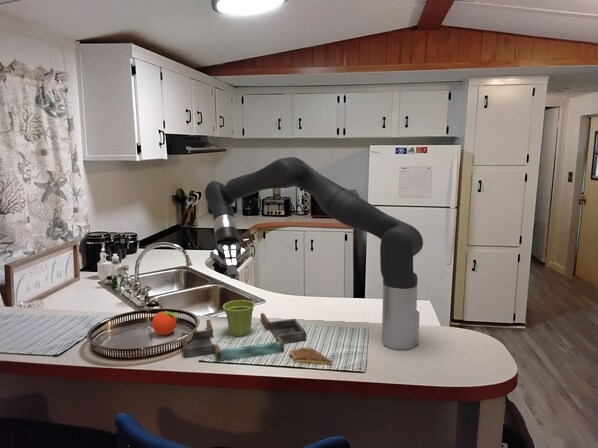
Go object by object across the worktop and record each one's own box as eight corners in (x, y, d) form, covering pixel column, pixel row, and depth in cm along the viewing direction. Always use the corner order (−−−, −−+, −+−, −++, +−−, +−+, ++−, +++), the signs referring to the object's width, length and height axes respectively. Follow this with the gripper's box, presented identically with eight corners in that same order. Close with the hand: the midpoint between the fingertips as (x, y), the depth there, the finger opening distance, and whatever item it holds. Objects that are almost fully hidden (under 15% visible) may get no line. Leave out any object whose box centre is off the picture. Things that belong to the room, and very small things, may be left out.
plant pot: (218, 336, 135) (216, 308, 134) (234, 324, 144) (233, 298, 142) (246, 341, 132) (245, 312, 130) (260, 329, 140) (260, 301, 139)
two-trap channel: (287, 317, 149) (287, 310, 149) (311, 347, 127) (311, 339, 126) (180, 331, 139) (179, 323, 139) (185, 366, 117) (184, 357, 116)
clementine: (184, 330, 140) (182, 308, 139) (173, 339, 133) (172, 316, 132) (159, 328, 141) (158, 306, 140) (148, 338, 135) (146, 314, 133)
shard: (332, 367, 117) (332, 360, 116) (307, 375, 113) (307, 368, 113) (309, 351, 126) (309, 345, 126) (285, 358, 122) (285, 352, 122)
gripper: (206, 226, 148) (212, 273, 139) (246, 224, 152) (255, 269, 143) (205, 239, 154) (211, 285, 145) (244, 236, 158) (252, 281, 149)
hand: (233, 277), depth 144 cm, fingers closed
